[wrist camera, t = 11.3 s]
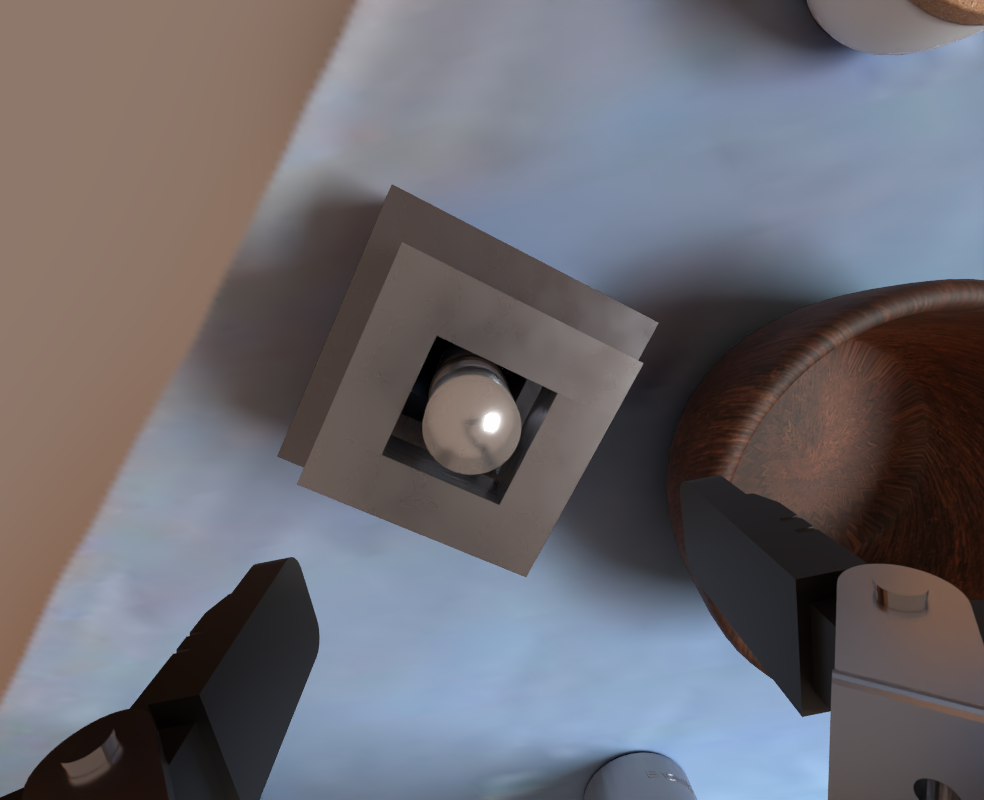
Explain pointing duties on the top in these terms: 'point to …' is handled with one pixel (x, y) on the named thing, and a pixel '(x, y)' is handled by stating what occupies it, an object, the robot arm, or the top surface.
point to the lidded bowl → (898, 23)
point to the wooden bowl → (854, 428)
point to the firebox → (483, 331)
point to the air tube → (470, 414)
